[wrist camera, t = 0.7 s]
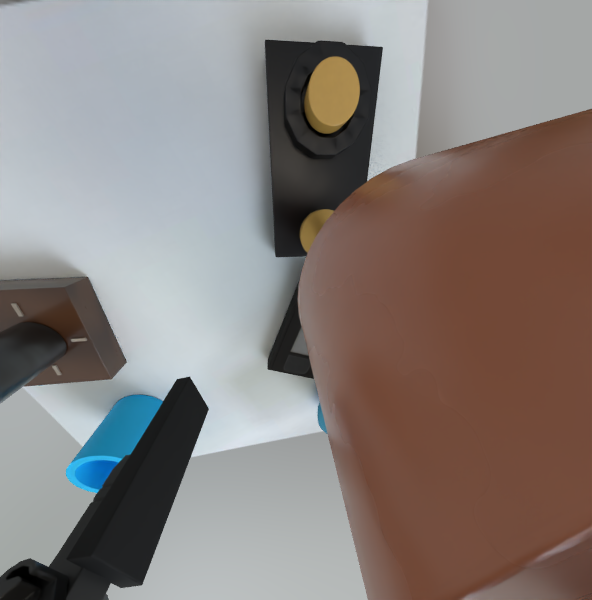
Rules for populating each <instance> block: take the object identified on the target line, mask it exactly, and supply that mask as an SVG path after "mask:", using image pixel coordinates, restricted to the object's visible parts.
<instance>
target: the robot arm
mask: <svg viewBox="0 0 592 600" xmlns="http://www.w3.org/2000/svg"><path fill="white" fill-rule="evenodd" d="M208 410H209V408H208V407H207V405H206V403H205V402H204V400H203V398H202V397H201V395H200V393H199V392H198V390H197V388H196V386H195V385H194V383H193V381H192V380H191V378H190V377H186V378H181V379H177V380H176V382H175V383H174V385H173V387H172V388H171V390H170V391H169V393H168V395H167V396H166V398H165V400H164V401H163V403H162V404H161V406H160V408H159V409H158V411H157V413H156V414H155V416H154V417H153V419H152V421H151V422H150V424H149V425H148V427H147V429H146V430H145V432H144V434H143V435H142V437H141V438H140V440H139V442H138V443H137V445H136V447H135V448H134V450H133V451H132V453H131V454H130V455H125V457H124V458H123V459H122V460H121V461H120V462H119V463H118V464H117V465H116V466H115V467H114V469H113V470H112V471H111V473H110V474H109V476H108V477H107V479H106V480H105V482H104V483H103V485H102V488H101V489H100V490H99V491H98V493H97V494H96V496H95V497H94V501H93V502H92V503H91V504H90V505H89V507H88V508H87V510H86V511H85V513H84V514H83V516H82V517H81V519H80V521H79V522H78V524H77V525H76V527H75V528H74V530H73V531H72V533H71V534H70V536H69V537H68V539H67V540H66V542H65V544H64V545H63V547H62V548H61V550H60V551H59V553H58V554H57V556H56V557H55V559H54V560H53V562H52V563H51V564H50V566H49V567H47V566H45V565H43V564H41V563H39V562H37V561H35V560H32V559H27V560H23V561H21V562H19V563H18V564H16V565H15V566H13V567H11V568H10V569H9V570H7V571H6V572H5V573H4V574H3V575H2V576H1V577H0V600H109V599H108V595H107V594H106V592H107V590H108V588H109V585H110V583H112V584H114V585H117V586H119V587H120V588H124V587H132V586H139V585H142V584H143V581H144V579H145V576H146V573H147V571H148V568H149V565H150V563H151V560H152V558H153V555H154V552H155V550H156V547H157V544H158V542H159V539H160V536H161V534H162V531H163V528H164V526H165V523H166V521H167V518H168V515H169V512H170V510H171V507H172V505H173V502H174V499H175V497H176V494H177V492H178V489H179V486H180V484H181V481H182V478H183V476H184V473H185V470H186V468H187V465H188V462H189V460H190V457H191V455H192V452H193V449H194V447H195V444H196V441H197V439H198V436H199V433H200V431H201V428H202V425H203V423H204V420H205V418H206V415H207V412H208Z"/></svg>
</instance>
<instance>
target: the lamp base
mask: <svg viewBox="0 0 592 600" xmlns="http://www.w3.org/2000/svg"><path fill="white" fill-rule="evenodd" d="M382 50H383V47H374V46H358V45H346V44H345V43H343V42H333V41H317V42H316V43H310V42H294V41H278V40H265V58H266V78H267V98H268V118H269V138H270V158H271V177H272V197H273V217H274V237H275V255H276V257H297V256H307V254H308V253H307V252H306V251H305V250H304V248H303V246H302V244H301V242H300V228H301V225H302V223H303V221H304V220H305V218H306V217H307V216H308V215H309V214H311V213H312V212H314V211H316V210H319V209H329V210H333V211H335V210H336V209H337V207H338V206H339V205H340V204H341V203H342V202H343V201H344V200H345V199H346V198H348V197H349V196H350V195H351V194H352V193H353V192H354V191H355V190H356V189H358V188H359V187H361V186H362V185H363V184H365V183H366V182H367V176H368V167H369V159H370V151H371V142H372V134H373V126H374V117H375V109H376V100H377V92H378V84H379V75H380V67H381V58H382ZM335 56H337V57H341V58H344V59H346V60H347V61H348V62H350V64H351V65H352V66H353V67H354V69H355V71H356V73H357V76H358V79H359V85H360V95H359V101H358V104H357V107H356V109H355V111H354V113H353V115H352V116H351V117H350V118H349V120H348V121H347V122H346V123H345V124H344V125H343V126H342V127H341V128H340V129H338V130H337V131H335V132H333V133H330V134H324V133H320V132H318V131H316V130H315V129H314V128H313V127H312V126H311V125H310V123H309V122H308V120H307V117H306V114H305V109H304V99H305V94H306V90H307V87H308V84H309V81H310V78H311V75H312V73H313V71H314V70H315V68H316V67H317V65H318V64H319V63H320V62H322V61H323V60H325V59H326V58H329V57H335Z"/></svg>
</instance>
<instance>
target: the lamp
mask: <svg viewBox="0 0 592 600" xmlns="http://www.w3.org/2000/svg"><path fill="white" fill-rule="evenodd" d="M300 242H301V244H302V246H303V248H304V250H305V251H306V252H307V253H308V254H307V256H306V259H305V262H304V265H303V268H302V272H301V276H300V281H299V287H298V312H299V318H300V322H301V326H302V331H303V335H304V339H305V343H306V347H307V351H308V355H309V359H310V363H311V368H312V372H313V376H314V380H315V384H316V388H317V392H318V396H319V400H320V405H321V409H322V413H323V417H324V421H325V425H326V429H327V433H328V437H329V441H330V445H331V449H332V454H333V458H334V462H335V466H336V470H337V474H338V478H339V483H340V487H341V491H342V495H343V499H344V503H345V507H346V511H347V515H348V520H349V524H350V528H351V532H352V536H353V540H354V544H355V548H356V552H357V556H358V560H359V565H360V569H361V573H362V577H363V581H364V585H365V589H366V593H367V598H368V600H592V109H589V110H586V111H582V112H579V113H575V114H572V115H568V116H565V117H562V118H558V119H554V120H550V121H547V122H544V123H540V124H536V125H533V126H529V127H526V128H523V129H519V130H516V131H512V132H508V133H505V134H501V135H498V136H494V137H491V138H487V139H484V140H480V141H477V142H473V143H470V144H466V145H462V146H459V147H455V148H452V149H448V150H445V151H441V152H438V153H434V154H431V155H427V156H424V157H420V158H417V159H413V160H410V161H407V162H405V163H402V164H399V165H397V166H394V167H392V168H390V169H388V170H386V171H384V172H382V173H380V174H379V175H377V176H375V177H373V178H372V179H370V180H369V181H367V182H366V183H365V184H363V185H362V186H361V187H359V188H358V189H356V190H355V191H354V192H353V193H352V194H351V195H350V196H349V197H348V198H346V199H345V200H344V201H343V202H342V203H341V204H340V205H339V206H338V207H337V209H336V210H335V211H333V210H329V209H319V210H316V211H314V212H312V213H311V214H309V215H308V216H307V217H306V218H305V220H304V221H303V223H302V225H301V228H300Z"/></svg>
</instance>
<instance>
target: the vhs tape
mask: <svg viewBox="0 0 592 600" xmlns="http://www.w3.org/2000/svg"><path fill="white" fill-rule="evenodd" d="M299 281H300V280H299ZM298 287H299V283H298V285H297V288H296V290H295V293H294V295H293V298H292V300H291V303H290V305H289V308H288V310H287V313H286V315H285V318H284V320H283V323H282V325H281V328H280V330H279V333H278V335H277V338H276V341H275V343H274V346H273V348H272V351H271V353H270V356H269V358H268V370H273V371H278V372H283V373H288V374H293V375H298V376H303V377H308V378H313V379H314V376H313V372H312V368H311V363H310V359H309V355H308V351H307V347H306V343H305V339H304V335H303V331H302V326H301V322H300V318H299V312H298Z"/></svg>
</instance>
